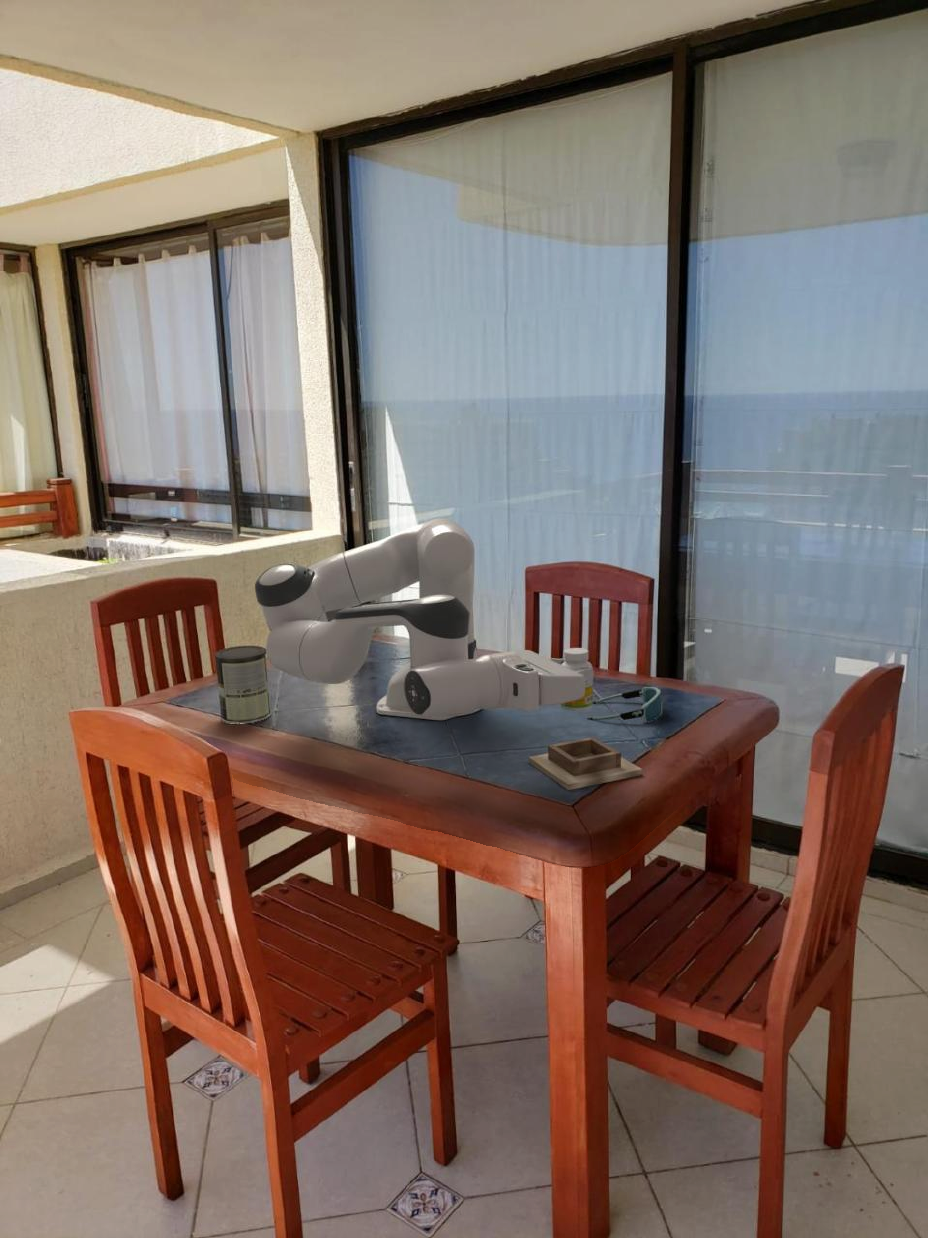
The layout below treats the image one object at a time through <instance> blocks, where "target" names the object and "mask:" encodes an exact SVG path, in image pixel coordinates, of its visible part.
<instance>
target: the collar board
mask: <svg viewBox="0 0 928 1238" xmlns="http://www.w3.org/2000/svg"><path fill="white" fill-rule="evenodd" d="M528 764H530V765H532V766H533V767H534V768H536V769H537V770H539V771H540V772H541V773H543V774H544V775H546V776H547V777H549V778H551V779H552V780H553V781H555V782H556V783H557V784H558V785H560V786H561V787H563V788H565V789H566V790H567V791H571V790H577V789H581V788H586V787H591V786H595V785H596V786H597V785H600V784H604V783H609V782H615V781H620V780H623V779H624V780H625V779H628V778H634V777H639V776H642V775H643V768H641V767H639V766H637V765H636V764H634V763H632V762H630V761H628V760H627V759H625V758H624V757H622V752H620V751H618V750H617V749H615V748H614V747H612V746H610V745H608V744H607V743H605V742H603V741H601V740H599V739H597V738H596V737H594V736H592V737H584V738H581V739H575V740H570V741H564V742H560V743H559V742H558V743H554V744H548V745H547V753H543V754H538V755H531V756H528Z"/></svg>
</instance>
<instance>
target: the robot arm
mask: <svg viewBox="0 0 928 1238" xmlns="http://www.w3.org/2000/svg"><path fill="white" fill-rule="evenodd" d="M416 583H419V584H418V586H419V587H418V588H419V589H418V590H419V591H418V593H419V594H418V595H419V596H418V597H419V598H414V599H413V598H412V599H405V600H404V599H403V600H393V601H382V602H381V601H380V602H371V601H375V600H377V599H380V598H384V597H387V596H389V595H393V594H395V593H399V592H400V591H402V590H404V589H406V588H407V587H410V586H412V585H414V584H416ZM254 589H255V590H254V591H255V597H256V600H257V601H256V602H257V603H258V604H259V605H260V609H261V612H262V615H263V617H264V620H265V624H266V627H267V628H268V630H269V631H270V633H269V634H268V636H267V639H266V642H265V649H266V658H267V659H268V662H270V664H271V665H272V667H275V669H277V670H279V671H280V672H282V673H285V674H288V675H290V676H292V677H295V678H298V679H302V680H306V681H310V682H314V683H319V684H325V685H327V684H328V685H338V684H343V683H345V682H347V681H349V680H350V679H352V678H353V677H354V676H355V675H357V674H358V672H359V671H360V670H361V668H362V667H363V665H364V663H365V662H366V659H367V657H368V653H369V649H370V646H371V642H372V639H373V636H374V634H375V632H376V630H377V628H383V627H397V626H399V627H400V626H404V627H405V629H406V631H407V633H408V638H409V641H408V642H409V660H410V661H408V663H406V664H405V665H403V666H402V667H401V668H400V669H399V670H398V671H396V672H395V673H394V674H393V675H392V676H391V678H390V679H389V681H388V684H387V690H386V695H384V696H383V697H381V698H380V699H379V700H378V702H377V703H376V707H375V708H376V713H377V714H379V715H384V716H395V717H402V718H403V717H406V718H413V719H425V720H433V721H445V720H449V719H452V718H456V717H459V716H465V715H470V714H473V713H477V712H478V711H480V710H491V711H492V710H498V709H516V710H519V711H523V712H529V713H531V712H532V713H533V712H538V711H539V710H540V706H541V707H549V706H557V705H561V704H562V703H567V702H571V701H575V700H579V699H581V698H582V697H583V696H584V695H585V681H586V680H592V679H594V676H595V671H594V668H593V669H591V668H588V667H585V668H580V670H578V671H574V670H571V669H569V668H567V667H565V666H562V665H561V664H562V663H564V662H566V660H565V659H564V658H553V657H545V656H543V655H541V654H539V653H537V652H535V651H532V650H530V649H520V650H515V651H512V650H509V651H503V652H495V653H489V654H483V655H482V654H481V655H479V656H478V646H477V640H476V638H475V629H474V627H475V625H474V624H475V623H474V622H475V621H474V589H475V546H474V542H473V539H472V537H471V536H470V535H469V534H468V533H467V532H466V531H465V529H464V528H463V527H461V525H459V524H458V523H457V522H456V521H454V520H451V519H449V518H441V517H440V518H434V519H431V520H427V521H425V522H422V523H420V524H418V525H415V526H411V527H409V528H407V529H405V530H402V531H399V532H396V533H395V534H392V535H389V536H387V537H385V538H382V539H379V540H376V541H373V542H370V543H368V544H364V545H361V546H357V547H354V548H351V549H349V550H346V551H342V552H340V553H336V554H333V555H332V556H329V557H327V558H324V559H322V560H320V561H318V562H316V563H314V564H312V565H310V566H308V567H306V566H302V565H299V564H295V563H281V564H277V565H274V566H272V567H270V568H269V567H268V569H266V570H264V571H263V572H262V573H261V574H260V575H259V577H258V579H257V580H256V582H255V584H254ZM368 601H369V602H370V604H363V605H359V604H362V603H365V602H368ZM344 608H345V609H344ZM339 609H342V610H340V611H338V612H337V613H336V615H335V617H334V619H333V620H332V621H330V622H328V620H327V617H326V614H325V612H327V611H334V610H339Z"/></svg>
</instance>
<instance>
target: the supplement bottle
mask: <svg viewBox="0 0 928 1238" xmlns="http://www.w3.org/2000/svg"><path fill="white" fill-rule="evenodd" d="M589 656H590V655H589V650H588V649H587V648H583V647H570V648H566V649H564V651H563V657H564V659H565V660H566V662H564V663H562V664H561V665H562V666H565V667H567V668H569V669H571V670H574V671H578V670H580V668H585V667H588V668H591V669H593V670H594V668H593V665H592V663H591V662H589V661H588V660H589ZM593 679H594V678H593ZM593 679H592V680H586V681H585V695H584V696H583V697H582V698H581V699H579V700H575V701H571V702H567V703H562V704H560V707H561V708H562V709H563V710H565V711H570V712H584V711H588V710H590V709H592V708H593V705H594V703H593V702H594V693H593V692H594V680H593Z"/></svg>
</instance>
